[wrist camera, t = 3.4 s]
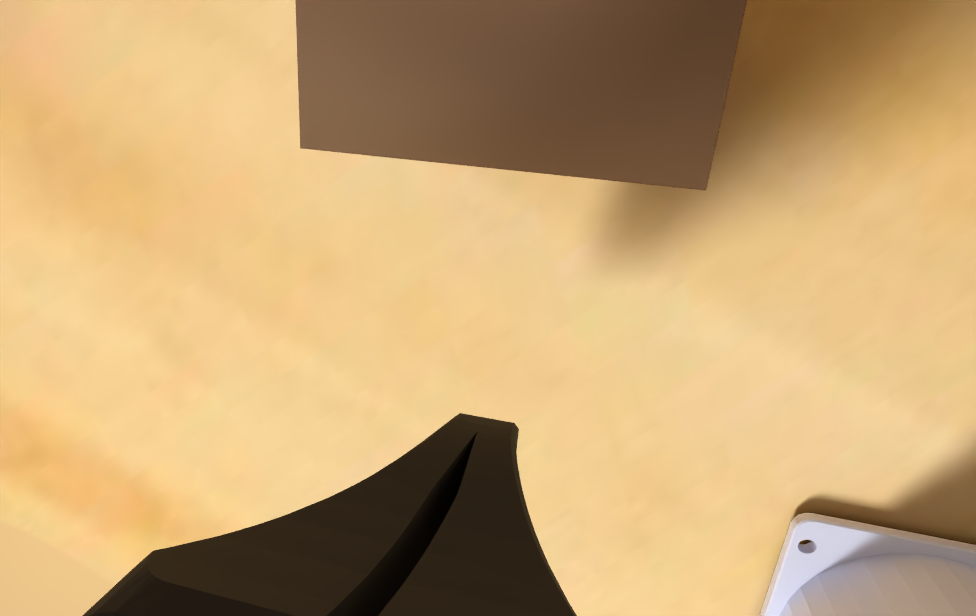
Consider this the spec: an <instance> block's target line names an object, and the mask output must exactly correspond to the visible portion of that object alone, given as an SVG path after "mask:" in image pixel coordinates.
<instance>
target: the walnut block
mask: <svg viewBox="0 0 976 616" xmlns="http://www.w3.org/2000/svg"><path fill="white" fill-rule="evenodd" d="M746 2H747V0H296V26H297V57H298V88H299V118H300V148H303V149H313V150H323V151H332V152H342V153H351V154H361V155H371V156H380V157H390V158H399V159H409V160H419V161H428V162H438V163H448V164H457V165H467V166H476V167H486V168H496V169H505V170H515V171H524V172H534V173H544V174H553V175H563V176H573V177H582V178H592V179H601V180H611V181H621V182H630V183H640V184H649V185H659V186H669V187H678V188H688V189H698V190H706V187H707V183H708V178H709V174H710V169H711V164H712V160H713V155H714V150H715V146H716V141H717V136H718V132H719V127H720V122H721V118H722V113H723V108H724V104H725V99H726V95H727V90H728V85H729V81H730V76H731V71H732V67H733V62H734V57H735V53H736V48H737V43H738V39H739V34H740V29H741V25H742V20H743V16H744V11H745V6H746Z"/></svg>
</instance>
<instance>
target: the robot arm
mask: <svg viewBox="0 0 976 616" xmlns="http://www.w3.org/2000/svg"><path fill="white" fill-rule="evenodd" d="M518 431H519V429H518V427H517V426H516V425H515V423H511V422H505V421H500V420H494V419H489V418H483V417H478V416H472V415H467V414H461V413H460V414H458V415H457V416H456V417H454V418H453V419H451V420H450V421H449V422H447V423H446V424H445V425H444V426H442V427H441V428H440V429H438V430H437V431H436V432H435V433H433V434H432V435H431V436H429V437H428V438H427V439H425V440H424V441H423V442H421V443H420V444H419V445H417V446H416V447H414V448H413V449H412V450H410V451H409V452H407V453H406V454H405V455H403V456H402V457H400V458H399V459H397V460H396V461H394V462H393V463H391V464H389V465H388V466H386V467H385V468H383V469H382V470H380V471H378V472H377V473H375V474H374V475H372V476H370V477H368V478H367V479H365V480H363V481H361V482H359V483H357V484H356V485H354V486H351V487H349V488H347V489H345V490H343V491H341V492H339V493H337V494H335V495H333V496H331V497H329V498H327V499H324V500H322V501H319V502H317V503H315V504H312V505H310V506H307V507H305V508H302V509H300V510H297V511H295V512H292V513H290V514H287V515H285V516H282V517H279V518H276V519H273V520H270V521H267V522H264V523H262V524H259V525H255V526H252V527H249V528H245V529H242V530H239V531H235V532H232V533H228V534H225V535H221V536H217V537H213V538H209V539H204V540H200V541H196V542H191V543H187V544H183V545H178V546H174V547H170V548H165V549H160V550H155V551H153V552H151V553H150V554H149V555H148V556H147V557H146V558H144V559H143V560H142V561H141V562H140V563H139V564H138V565H137V566H136V567H135V568H133V569H132V570H131V571H130V572H129V573H128V574H127V575H126V576H125V577H124V578H123V579H122V580H120V581H119V582H118V583H117V584H116V585H115V586H114V587H113V588H112V589H111V590H110V591H109V592H108V593H107V594H105V595H104V596H103V597H102V598H101V599H100V600H99V601H98V602H97V603H96V604H95V605H94V606H93V607H91V608H90V609H89V610H88V611H87V612H86V613H85V614H84V615H83V616H577V615H576V614H575V612H574V610H573V609H572V607H571V606H570V604H569V602H568V600H567V598H566V597H565V595H564V593H563V591H562V589H561V587H560V585H559V583H558V581H557V580H556V578H555V576H554V574H553V572H552V570H551V568H550V566H549V564H548V562H547V560H546V557H545V555H544V553H543V551H542V548H541V546H540V544H539V541H538V538H537V536H536V533H535V531H534V528H533V525H532V522H531V519H530V516H529V513H528V509H527V506H526V502H525V499H524V495H523V491H522V487H521V482H520V476H519V471H518V465H517V455H516V449H517V440H518ZM803 540H811V541H810V543H807V544H799V543H800V542H801V541H803ZM760 616H976V545H974V544H968V543H963V542H958V541H953V540H948V539H943V538H938V537H933V536H927V535H922V534H917V533H912V532H907V531H902V530H897V529H892V528H886V527H881V526H876V525H871V524H866V523H861V522H856V521H851V520H845V519H840V518H835V517H830V516H825V515H820V514H815V513H802V514H799V515H797V516H796V517H794V518H793V520H792V521H791V523H790V526H789V529H788V532H787V535H786V538H785V541H784V544H783V547H782V550H781V553H780V556H779V559H778V562H777V565H776V568H775V571H774V574H773V577H772V580H771V583H770V586H769V589H768V592H767V595H766V598H765V601H764V604H763V607H762V610H761V613H760Z"/></svg>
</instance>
